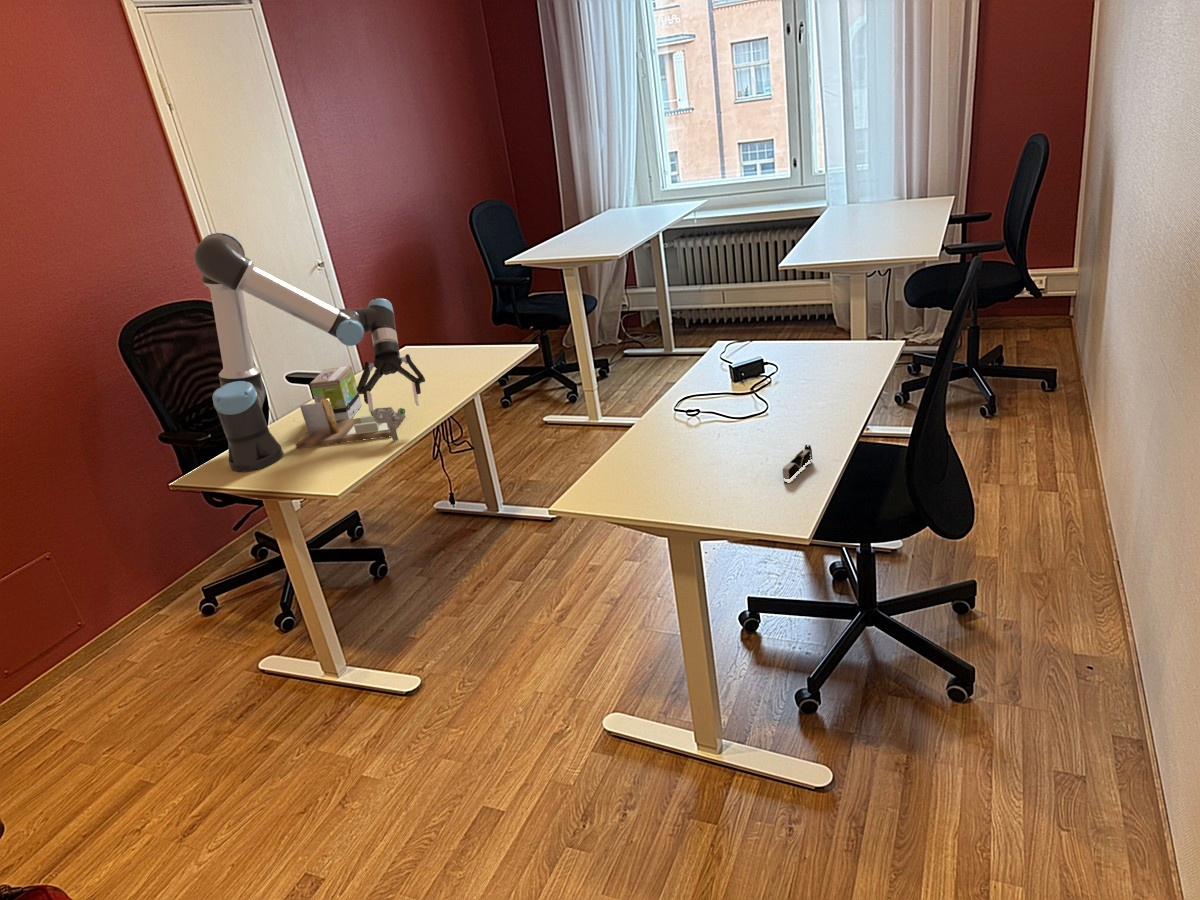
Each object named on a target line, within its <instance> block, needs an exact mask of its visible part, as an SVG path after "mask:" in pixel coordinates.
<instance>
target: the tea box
mask: <svg viewBox="0 0 1200 900" xmlns="http://www.w3.org/2000/svg"><path fill="white" fill-rule="evenodd" d="M355 377H356V376H355V374H354V370H353V367H352V366H351V365H347V366H340V367H332V368H326V369H323V370H321V371H320V373H319V374H317V376H316V377H314V379H313V380H312V381H311V382H310V383H309V387H310V390H311V393H312V396H313V400H314V403H321V400H322V399H324V398H329V400H330V403H331V406H332V409H333V413H334V416H335V419H336V421H340V420H348V419H353V417H354V416H355V415H356V413H358V411H359V410H360V409H361V407H362V406H363V403H362V400H361V396H360V394H359V393H358V391H357V390H356V389H357V386H358V384H357V381H356V379H355ZM361 405H362V406H361ZM360 406H361V407H360ZM358 409H359V410H358Z"/></svg>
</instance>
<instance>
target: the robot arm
mask: <svg viewBox="0 0 1200 900" xmlns="http://www.w3.org/2000/svg"><path fill="white" fill-rule="evenodd" d="M193 260H194V264H195V266H196V268H197V270H198V271H199V272H200V273H201V277H202V284H204V285H205V286H206V287H208V289H209V291H210V297H211V302H212V308H213V309H212V310H213V314H214V315H213V316H214V320H215V326H216V333H217V339H218V345H219V349H220V350H219V351H220V356H221V362H222V369H221V371H220V372H219V373H218V377H219V383H220V386H219V387H218V388H216V389H215V390H214V391H213V394H212V402H213V407H214V409H215V410H216V413H217V416H218V418H219V422H220V424H221V426H222V429H223V432H224V434H225V437H226V439H227V440H226V441H227V442H228V465H229V466H230V469H231V470H232V471H233V472H238V473H240V472H241V473H242V472H243V473H244V472H245V473H246V472H250V471H256V470H259V469H262V468H265V467H268V466H271V465H272V464H275V463H276V462H277V461H279V460H280V459H281V458H282V457H283V455H284V450H283V447H282V446H281V444H280V443H279V442H278V440H277V439H276V438H275V437H274V436H273V434H272V433H271V431H270V429H269V427H268V424H267V421H266V418H265V414H264V412H263V406H264V405H263V404H264V403H265V399H266V394H267V393H266V387H265V385H264V383H263V380H262V379H263V378H262V372H261V369H260V368H258V367H257V366H256V365H255V361H254V356H253V349H252V344H251V343H252V342H251V336H250V330H249V324H248V316H247V311H246V310H247V309H246V305H245V298H244V293H247V294H249V295H251V296H253V297H255V298H257V299H259V300H261V301H263V302H265V303H267V304H269V305H271V306H273V307H275V308H276V309H279V310H281V311H283V312H285V313H287V314H289V315H291V316H293V317H295V318H297V319H299V320H301V321H303V322H305V323H306V324H309V325H311V326H313V327H315V328H317V329H319V330H321V331H323V332H325V333H327V334H328V335H331V336H333V337H334V338H337V339H338V341H339V342H340V343H341V344H343V345H344V346H349V347H352V346H353V347H354V346H357V345H358V344H359V343H361V341H362V340H363V338H364V334H365V333H371V340H372V341H371V342H372V346H373V355H374V362H368V361H366V362H364V369H363V371H362V374H361V377H360V379H359V381H358V384H357V389H356V390H357V391H358V393H359V395H363V400H364V402H365V404H366V405H368V412H369V413H370V414H371V411H373V410H374V405H373V404H374V402H373V396H372V393H371V392H372V390H373V388H375V387H374V386H375V385H377V383H378V381H379V380H380V379H381V378H382V377H383V375H384V376H389V375H390V374H391V375H392V374H396V373H397V372H398V373H399V374H400V375H403V376H404V378H407V379H408V380H409V381H410V382H411V384H412V385H411V386H412V392H413V398H414V403H415V405H416V406H420V402H419V396H418V395H420V394H421V393H422V390H421V384H423V383H425V382H426V379H425V376H424V374H422V372H421V371H420V370H419V369H418V367H417V366H416V365H415V364H414V362H413V361H412V357H411V356H410V354H407V353H406V354H405V356H403V357H401V353H400V347H399V341H398V333H397V327H396V326H397V325H396V318H395V312H394V308H393V305H392V303H391V301H390V300H388V299H386V298H375V299H372V300H370V301H369V303H368V304H367V307H360V308H359V307H358V308H355V307H354V308H336V307H334V306H332V305H330V304H328V303H326V302H325V301H322V300H321V299H319V298H317V297H315V296H313V295H312V294H309V293H307V292H305V291H303V290H301V289H300V288H298V287H296V286H294V285H291V284H290V283H288V282H286V281H285V280H282V279H280V278H278V277H277V276H274V275H272V274H271V273H269V272H267V271H265V270H264V269H260V268H259V267H257V266H256V265H255V264H254V262H253V260H252V259H250V258H248V257H246V253H245V249H244V247H243V245H242V243H241V242H240V241H239V240H238V239H237V238H236V237H234V236H232V235H230V234H228V233H224V232H215V233H214V232H213V233H211V234H209V235H207V236H204V238H203V239H202V240H201V241H199V242H198V244H197V246H196V247H195V249H194V254H193ZM403 363H405V364H407V365H408V366H409V368H410V369H411V370H412V372H413V373H414V374H415V375H416V376H417V377H416V376H415V375H414V374H412V373H410V372H409V371H408V370H406V369H405V368H404V367H402V364H403ZM373 368H375V370H374V373H373V374H372V376H371V372H372V371H373ZM370 376H371V377H370Z"/></svg>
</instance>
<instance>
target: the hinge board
mask: <svg viewBox="0 0 1200 900" xmlns="http://www.w3.org/2000/svg"><path fill="white" fill-rule="evenodd" d="M299 408H300V411H301V414H302V417H303V419H304V420H303V421H304V423H305V426H306V429H307V431H306V432H305V433H304V434H303V436H301V438H299V440H297V442H296V443H295V446H296V449H304V448H305V449H306V448H311V447H312V448H313V447H319V446H328V444H330V445H336V444H335V443H338V444H342V443H341V442H346V443H348V442H347V441H354V442H357V441H356V440H362V441H364V440H363V439H370V440H372V439H371V438H378V439H381V438H380V437H386V438H390V437H389V436H392V435H391V431H390V428H388V427H387V426H388V425H387V423H377V422H375V420H374V417H373V416H372V415H371V414H370V415H363V416H361V417H358V418H352V419H348V420H340V421H336V419H335V416H334V413H333V409H332V406H331V403H330V400H329V398H324V399H322V400H321V403H315V402H314V403H313V402H312V403H307V404H300V405H299ZM395 418H400V417H399V416H397V417H395ZM405 418H406V416H405V417H404V418H403V419H404V420H405ZM403 419H402V420H401V421H400V422H395V424H396V426H395V429H397V428H398V429H399V427H400V426H401V424H402V423H403V422H404V420H403ZM401 422H402V423H401ZM399 425H400V426H399ZM398 429H397V430H398Z"/></svg>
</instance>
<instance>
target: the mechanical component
mask: <svg viewBox="0 0 1200 900" xmlns="http://www.w3.org/2000/svg"><path fill="white" fill-rule="evenodd" d="M370 415H372V416H373V417H374V420H375V422H377V423H387V425H388V426H387V427H388V428H390V431H391V435H392V437H391V438H392V441H393V440H394V441H393V442H396V441H395V440H397V441H398V440H399V437H398V433H397V430H396V429H395V426H396V424H395V422H400V421H401V420H402V419H403V418H404V417H405V418H406V409H405V408H402V407H399V408H398V409H397V412H396V410H394V409H393V407H392V406H391V407H378V408H377V407H376V408H375V409H373V411H371V413H370ZM397 416H399V417H400V418H395V417H397ZM405 418H404V419H405Z"/></svg>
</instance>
